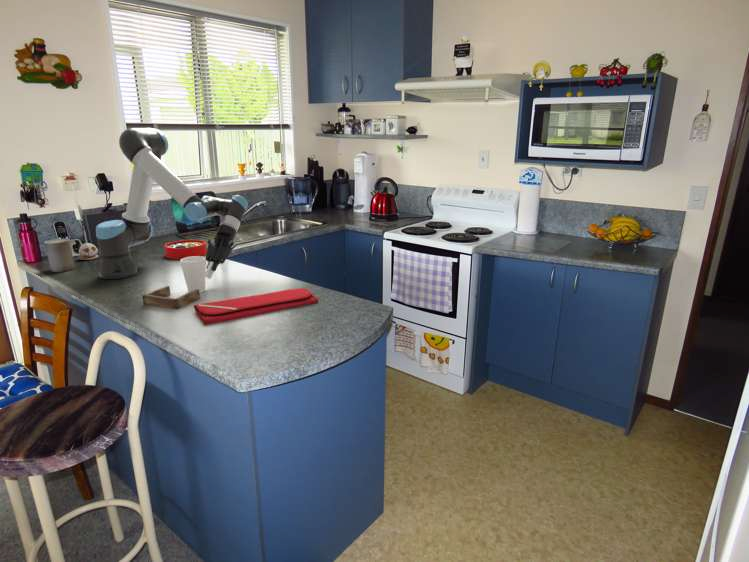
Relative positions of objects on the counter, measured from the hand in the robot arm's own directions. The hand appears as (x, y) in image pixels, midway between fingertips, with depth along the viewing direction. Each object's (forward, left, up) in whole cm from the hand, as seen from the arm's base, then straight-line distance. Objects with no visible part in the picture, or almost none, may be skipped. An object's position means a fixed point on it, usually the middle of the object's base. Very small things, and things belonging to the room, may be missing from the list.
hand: (207, 277), depth 194 cm
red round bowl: (-48, +42, -5) cm, 63 cm away
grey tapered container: (-82, -1, -4) cm, 82 cm away
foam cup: (-1, -6, -4) cm, 7 cm away
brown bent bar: (-1, -19, -4) cm, 19 cm away
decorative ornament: (-88, +18, -4) cm, 90 cm away
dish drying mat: (+32, -13, -5) cm, 35 cm away
